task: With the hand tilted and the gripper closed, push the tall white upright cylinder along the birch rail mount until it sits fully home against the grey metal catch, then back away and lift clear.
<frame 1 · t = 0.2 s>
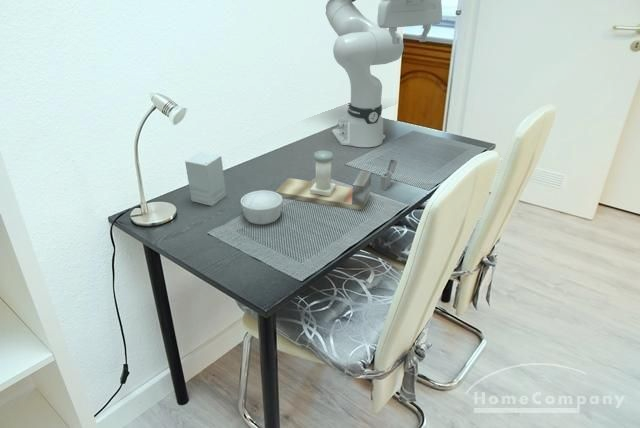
hand: (409, 42, 134), 39 cm above the table, tool pointing down, fingers open, 8 cm apart
rail mount: (323, 195, 133), on the table
white upright cylinder: (323, 172, 129), point 7 cm above the table, slide at 0.0 cm
ramekin: (262, 217, 122), on the table
supplement box: (209, 199, 131), on the table
lighter: (387, 186, 139), on the table
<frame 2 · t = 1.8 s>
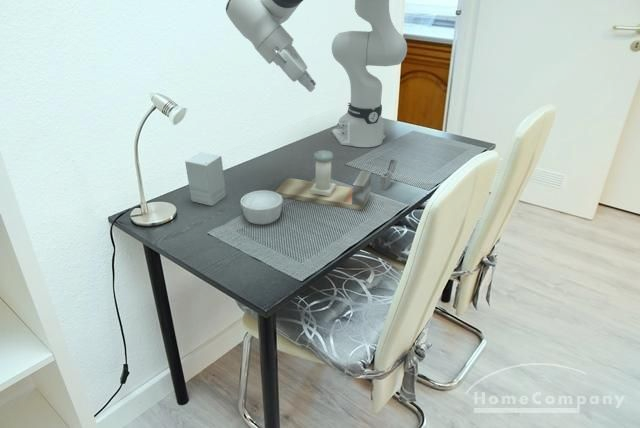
hand: (313, 88, 119), 31 cm above the table, tool tilted 45°, fingers open, 8 cm apart
nothing on the table moved.
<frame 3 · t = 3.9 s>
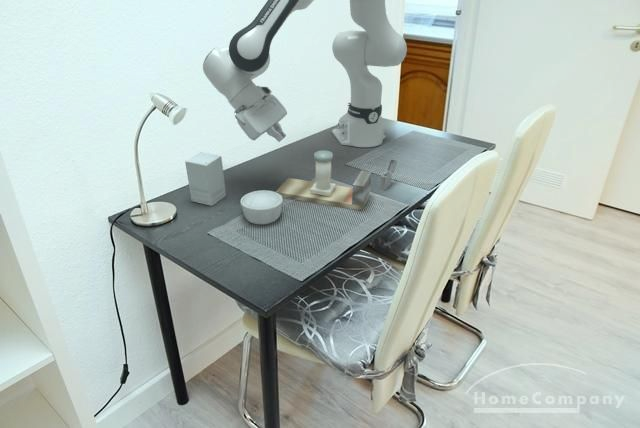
hand: (282, 139, 128), 16 cm above the table, tool tilted 45°, fingers closed
nothing on the table moved.
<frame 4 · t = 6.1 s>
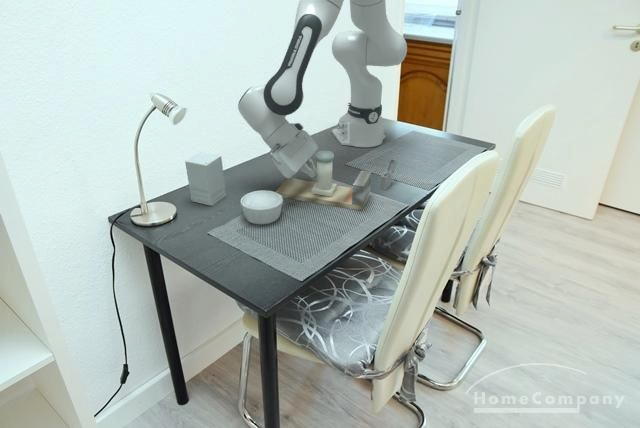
hand: (315, 175, 130), 6 cm above the table, tool tilted 45°, fingers closed, pressing on white upright cylinder
white upright cylinder: (324, 172, 129), point 7 cm above the table, slide at 0.4 cm, touching gripper
everything else where it was.
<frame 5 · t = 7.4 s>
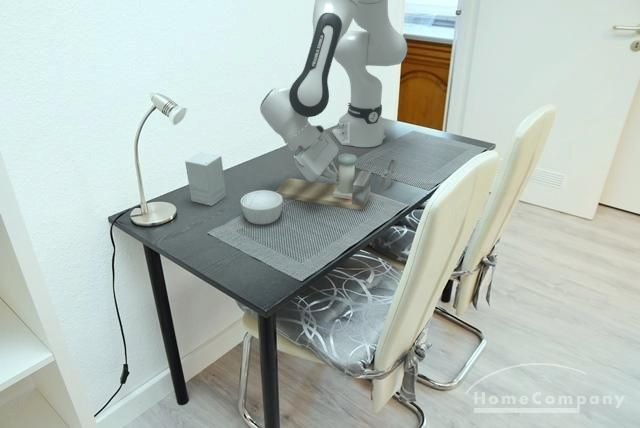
hand: (337, 178, 129), 6 cm above the table, tool tilted 45°, fingers closed, pressing on white upright cylinder
white upright cylinder: (346, 175, 127), point 7 cm above the table, slide at 6.9 cm, touching gripper
everything else where it was.
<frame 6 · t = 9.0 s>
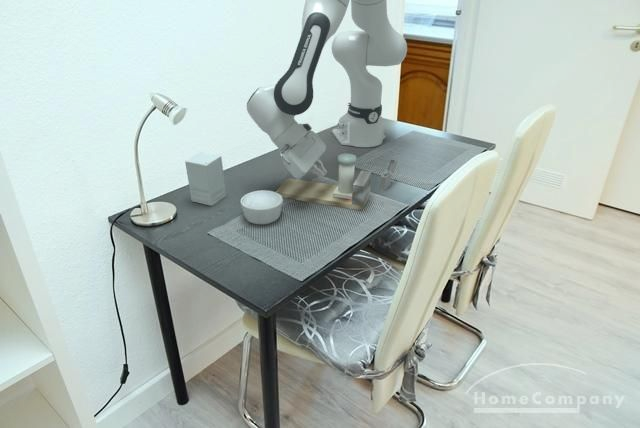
hand: (324, 175, 129), 7 cm above the table, tool tilted 45°, fingers closed
white upright cylinder: (346, 175, 127), point 7 cm above the table, slide at 6.8 cm
everything else where it was.
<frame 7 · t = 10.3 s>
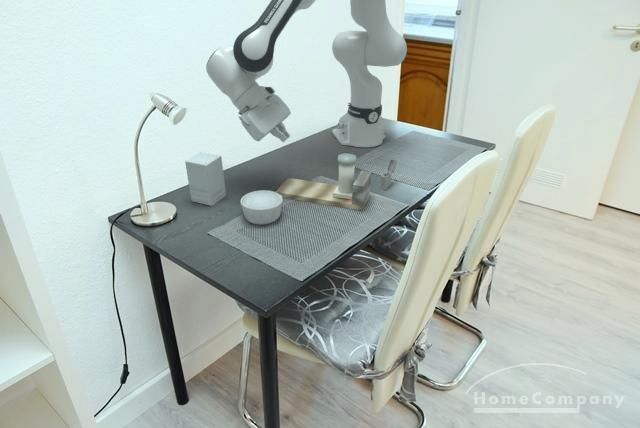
hand: (286, 139, 128), 16 cm above the table, tool tilted 45°, fingers closed
nothing on the table moved.
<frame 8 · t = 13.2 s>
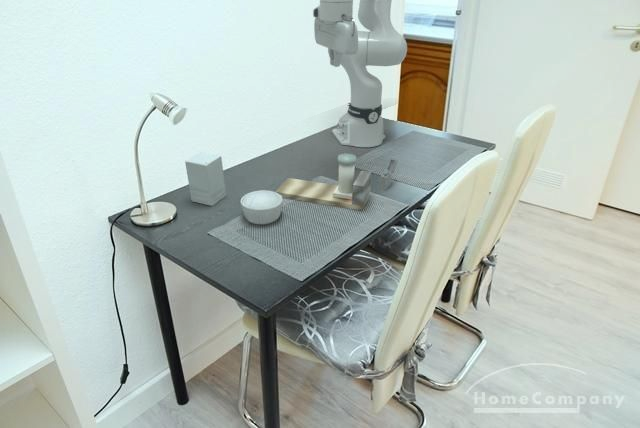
hand: (335, 65, 128), 34 cm above the table, tool pointing down, fingers closed
nothing on the table moved.
at the end: white upright cylinder slide at 6.8 cm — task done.
